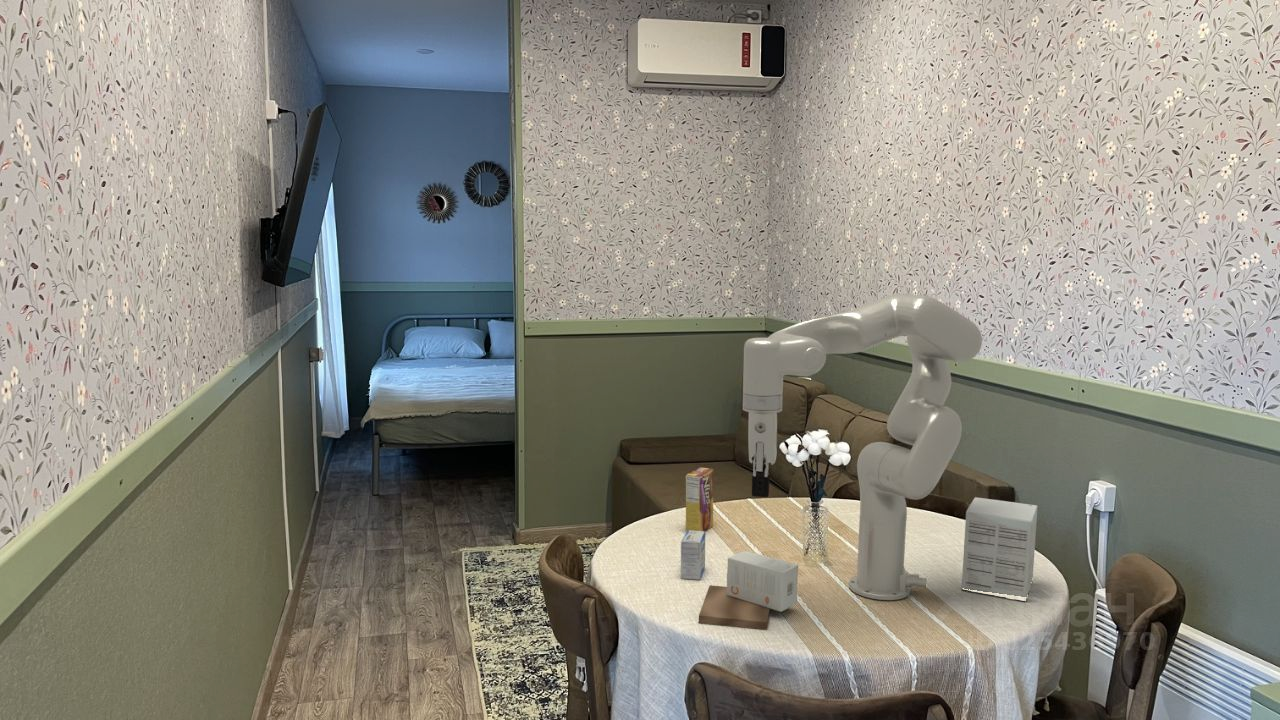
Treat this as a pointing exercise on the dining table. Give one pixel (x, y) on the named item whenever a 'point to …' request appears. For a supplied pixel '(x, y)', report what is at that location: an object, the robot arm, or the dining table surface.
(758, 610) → the walnut board
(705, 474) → the candy box
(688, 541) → the medicine box
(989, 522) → the supplement box
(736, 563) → the small box
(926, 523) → the dining table surface
